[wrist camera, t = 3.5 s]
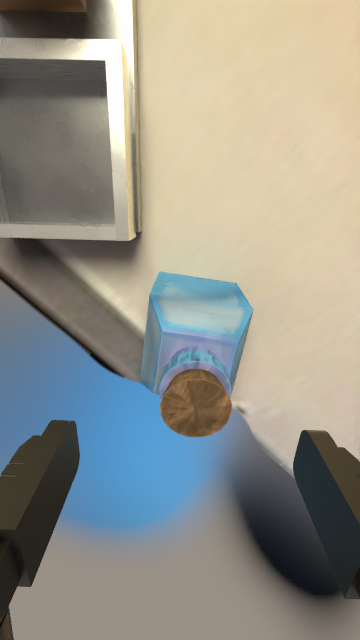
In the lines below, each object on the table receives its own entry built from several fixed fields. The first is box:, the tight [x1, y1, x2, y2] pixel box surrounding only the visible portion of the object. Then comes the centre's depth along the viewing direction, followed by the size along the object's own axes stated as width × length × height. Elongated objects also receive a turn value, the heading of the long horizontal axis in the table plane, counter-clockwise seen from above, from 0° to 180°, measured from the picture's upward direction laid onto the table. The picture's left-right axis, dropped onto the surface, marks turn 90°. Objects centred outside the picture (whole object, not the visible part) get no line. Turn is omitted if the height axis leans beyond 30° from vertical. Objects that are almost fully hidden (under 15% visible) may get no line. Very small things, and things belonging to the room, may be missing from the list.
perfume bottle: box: [140, 272, 253, 437], centre depth 18 cm, size 6×6×12 cm
